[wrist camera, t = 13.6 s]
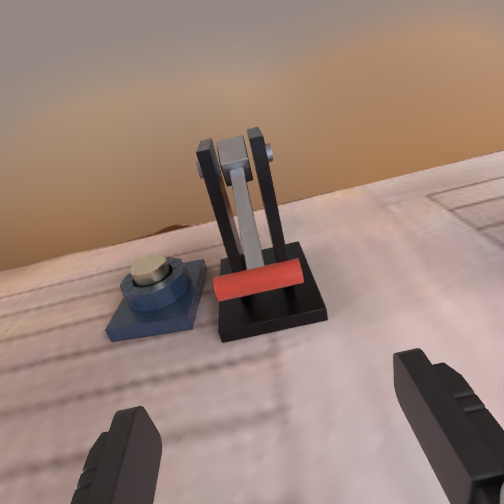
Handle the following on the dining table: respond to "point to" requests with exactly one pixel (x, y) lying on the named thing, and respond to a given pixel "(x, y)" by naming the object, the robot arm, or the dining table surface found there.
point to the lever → (249, 233)
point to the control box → (159, 303)
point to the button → (150, 270)
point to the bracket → (273, 301)
